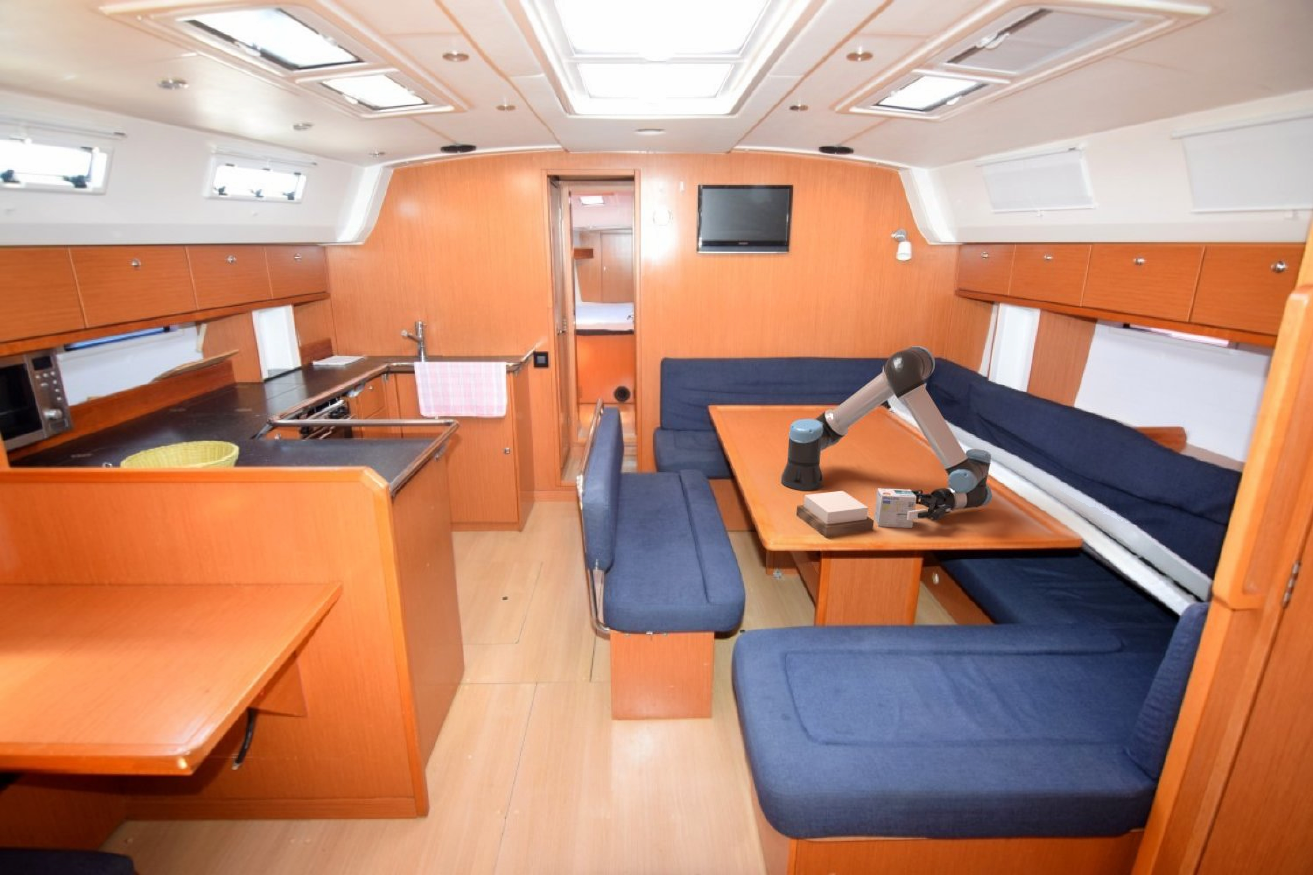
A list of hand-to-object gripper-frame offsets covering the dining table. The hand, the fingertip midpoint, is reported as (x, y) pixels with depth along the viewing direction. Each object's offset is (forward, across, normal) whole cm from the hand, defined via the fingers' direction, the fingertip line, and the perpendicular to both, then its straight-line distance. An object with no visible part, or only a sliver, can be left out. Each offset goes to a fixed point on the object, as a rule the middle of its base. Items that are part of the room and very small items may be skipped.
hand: (893, 507), depth 194 cm
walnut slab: (+17, +6, -6) cm, 19 cm away
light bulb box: (-1, 0, -6) cm, 6 cm away
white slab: (+17, +6, -2) cm, 18 cm away
